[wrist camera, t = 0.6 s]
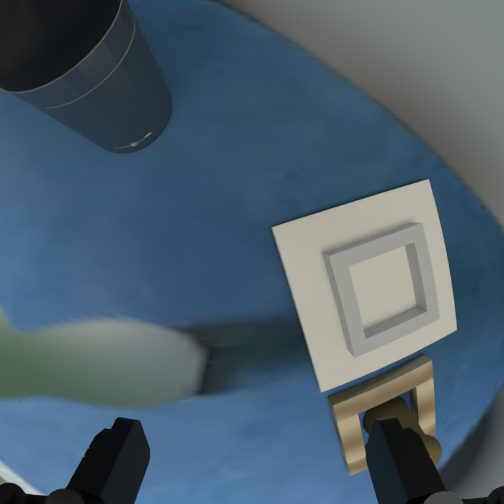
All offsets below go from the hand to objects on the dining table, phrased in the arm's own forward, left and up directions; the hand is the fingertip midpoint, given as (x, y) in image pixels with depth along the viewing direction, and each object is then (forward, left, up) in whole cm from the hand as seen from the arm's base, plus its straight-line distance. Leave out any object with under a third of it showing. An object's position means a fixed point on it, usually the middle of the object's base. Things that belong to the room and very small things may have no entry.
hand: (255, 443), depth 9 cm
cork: (+20, +12, -22) cm, 32 cm away
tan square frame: (+20, +12, -22) cm, 32 cm away
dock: (+3, +14, -22) cm, 26 cm away
